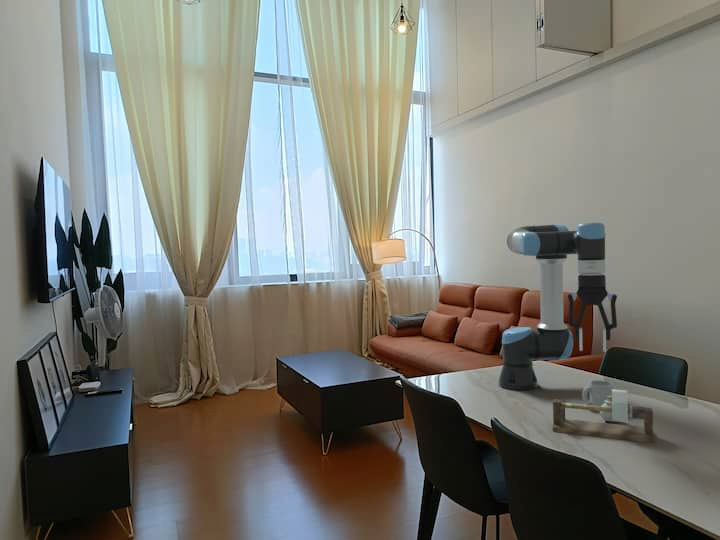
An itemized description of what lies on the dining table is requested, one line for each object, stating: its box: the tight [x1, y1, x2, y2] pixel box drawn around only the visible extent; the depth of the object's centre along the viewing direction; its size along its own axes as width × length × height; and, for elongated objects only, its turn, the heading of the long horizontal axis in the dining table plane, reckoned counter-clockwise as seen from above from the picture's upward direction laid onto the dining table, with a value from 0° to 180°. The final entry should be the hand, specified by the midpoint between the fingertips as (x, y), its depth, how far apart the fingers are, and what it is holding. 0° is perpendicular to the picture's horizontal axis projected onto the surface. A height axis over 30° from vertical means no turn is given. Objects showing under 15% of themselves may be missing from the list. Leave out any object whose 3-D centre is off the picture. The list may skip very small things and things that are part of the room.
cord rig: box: [552, 398, 655, 444], centre depth 152 cm, size 27×9×9 cm, turn 64°
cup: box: [581, 379, 614, 406], centre depth 172 cm, size 7×10×9 cm
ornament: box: [597, 391, 615, 423], centre depth 160 cm, size 6×7×10 cm
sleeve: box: [612, 388, 629, 423], centre depth 149 cm, size 4×5×8 cm
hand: (592, 350), depth 152 cm, fingers open, 6 cm apart
